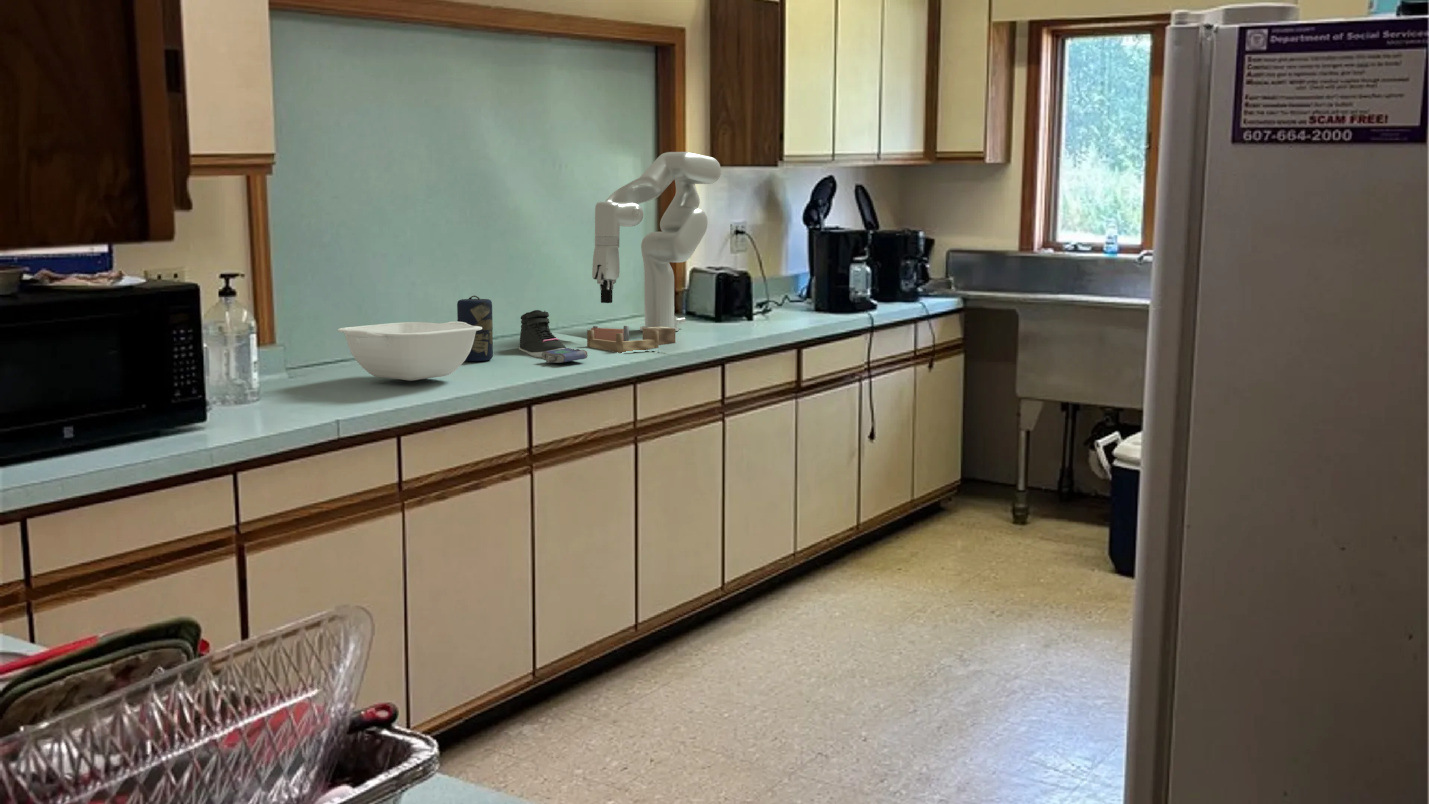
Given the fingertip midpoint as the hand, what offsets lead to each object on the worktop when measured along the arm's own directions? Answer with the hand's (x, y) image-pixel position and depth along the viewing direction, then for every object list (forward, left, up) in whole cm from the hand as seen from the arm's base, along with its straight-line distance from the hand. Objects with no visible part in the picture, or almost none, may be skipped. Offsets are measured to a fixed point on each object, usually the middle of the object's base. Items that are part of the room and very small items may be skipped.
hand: (606, 302), depth 421 cm
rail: (+1, +11, -13) cm, 17 cm away
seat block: (-6, +17, -13) cm, 23 cm away
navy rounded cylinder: (+55, +12, -13) cm, 58 cm away
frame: (+8, +17, -13) cm, 23 cm away
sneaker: (+33, +12, -13) cm, 38 cm away
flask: (+35, +30, -14) cm, 48 cm away
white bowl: (+86, +31, -13) cm, 92 cm away
